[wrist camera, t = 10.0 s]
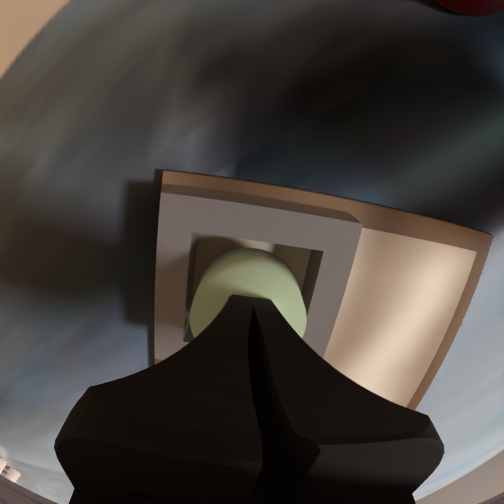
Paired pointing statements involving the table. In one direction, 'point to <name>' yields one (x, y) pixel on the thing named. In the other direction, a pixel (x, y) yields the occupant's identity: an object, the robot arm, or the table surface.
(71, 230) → the table surface
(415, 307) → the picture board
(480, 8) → the soda can
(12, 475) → the hat wearing toy figure
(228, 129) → the table surface
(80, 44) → the table surface
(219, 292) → the button
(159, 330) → the button housing
